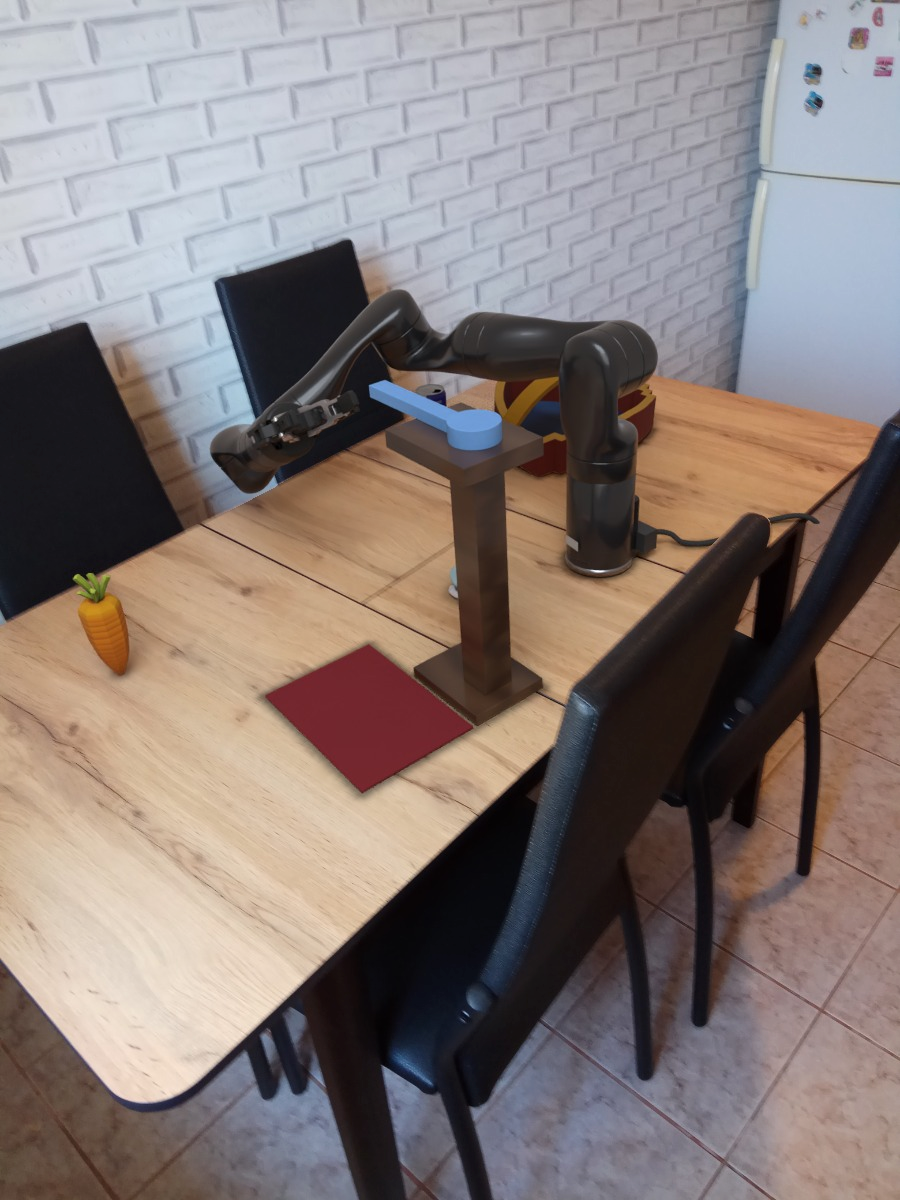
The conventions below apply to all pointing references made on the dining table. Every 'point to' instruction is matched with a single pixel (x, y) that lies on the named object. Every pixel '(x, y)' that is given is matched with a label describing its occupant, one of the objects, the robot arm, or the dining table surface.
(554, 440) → the decorative basket
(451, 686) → the stand
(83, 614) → the carrot
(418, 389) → the energy drink
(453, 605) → the dining table surface
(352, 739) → the cloth
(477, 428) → the blue disc paddle
